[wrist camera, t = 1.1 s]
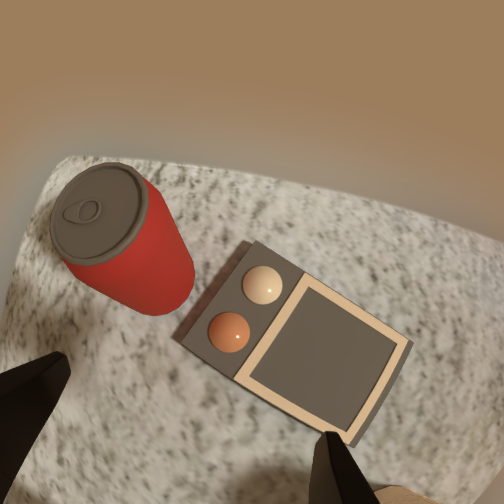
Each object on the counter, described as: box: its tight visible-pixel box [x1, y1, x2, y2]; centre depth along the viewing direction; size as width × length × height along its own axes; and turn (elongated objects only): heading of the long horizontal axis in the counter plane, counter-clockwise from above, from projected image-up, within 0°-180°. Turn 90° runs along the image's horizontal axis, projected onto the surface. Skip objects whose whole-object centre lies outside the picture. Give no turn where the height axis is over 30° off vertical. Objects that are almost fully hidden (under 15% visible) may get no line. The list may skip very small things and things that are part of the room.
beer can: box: [49, 162, 195, 316], centre depth 18 cm, size 7×7×12 cm
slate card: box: [181, 241, 414, 448], centre depth 21 cm, size 10×16×1 cm, turn 56°
